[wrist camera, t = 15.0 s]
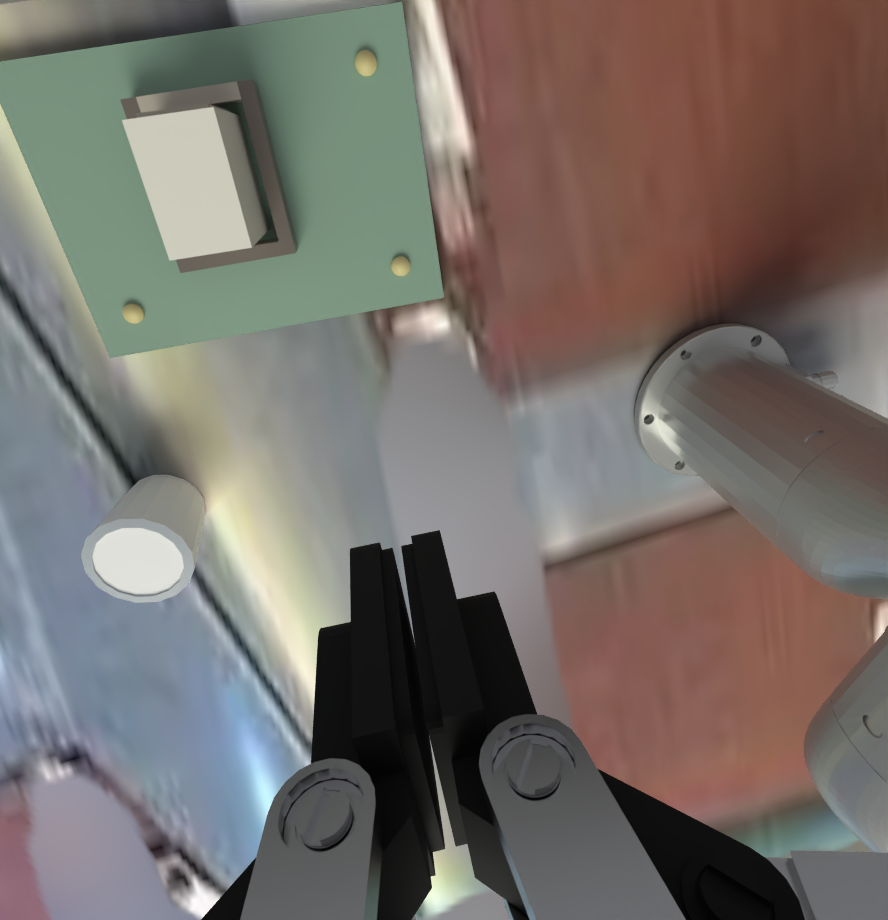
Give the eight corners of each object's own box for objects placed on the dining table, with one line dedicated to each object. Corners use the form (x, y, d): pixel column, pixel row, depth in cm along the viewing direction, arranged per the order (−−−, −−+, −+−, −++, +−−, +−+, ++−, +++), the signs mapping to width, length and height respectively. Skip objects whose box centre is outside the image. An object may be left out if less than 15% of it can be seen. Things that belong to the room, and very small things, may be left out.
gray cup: (102, 475, 43) (62, 530, 37) (198, 459, 44) (174, 510, 37) (137, 551, 46) (105, 612, 40) (225, 535, 47) (207, 593, 41)
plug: (239, 110, 33) (211, 100, 26) (269, 228, 36) (251, 247, 29) (167, 121, 33) (119, 113, 26) (203, 238, 36) (169, 260, 29)
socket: (257, 82, 33) (252, 79, 31) (298, 248, 37) (295, 253, 35) (132, 102, 32) (120, 99, 31) (188, 267, 37) (180, 273, 35)
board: (400, 5, 33) (402, 0, 32) (441, 294, 41) (444, 298, 39) (-7, 66, 32) (-20, 63, 30) (115, 353, 39) (108, 359, 38)
